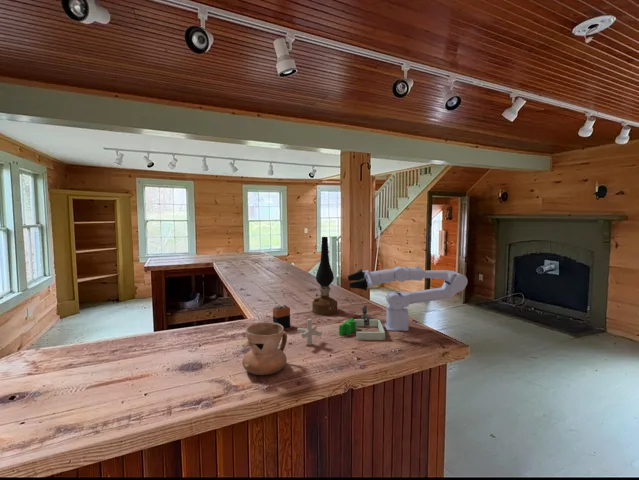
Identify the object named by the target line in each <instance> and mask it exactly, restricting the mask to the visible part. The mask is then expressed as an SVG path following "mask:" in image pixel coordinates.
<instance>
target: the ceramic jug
mask: <svg viewBox="0 0 639 480" xmlns="http://www.w3.org/2000/svg"><path fill="white" fill-rule="evenodd" d="M284 329H285V328H283V326H282V325H281V324H278V323H274V322H273V321H270V322H269V321H263V322H262V321H261V322H257V323H255V322H254V323H252V324H250V325H249V326H247V327H246V328H245V334H246V338H247V341H244V342H242V343H241V347H242V348H244V349H246V348H248V347H250V348H251V349H250V350H249V351H247V352H246V353H245V355H243V358H242V367H243V368H244V370H245V371H246V372H247V373H250V374H252V375H255V376H268V375H272V374H276V373H278V372H280V371H281V370H282V369H284V368H285V366H286V364H287V360H288V359H287V356H286V354H285V352H284V350H285V347H286V345H287V342H288V334H287V332H286V331H285V330H284Z"/></svg>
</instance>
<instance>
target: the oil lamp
mask: <svg viewBox="0 0 639 480" xmlns="http://www.w3.org/2000/svg"><path fill="white" fill-rule="evenodd" d="M328 239H329V237H328V236H322V237H321V249H320V254H321V255H320V261H319V266H318V269H317V271H316V274H315V280H316V282H317V283H318V285H320V287H318V290H319V292H320V294H319V295H318V293H316V294H315V298H313V299H314V300H313V301H311V302H312V303H311V305H312V309H311V312H312V313H313V314H315V315H318V316H333V315H335V314H337V313H338V312H339V310H338V301H337V300H336V299H335V298H332V297H330V291H331V287H330V285H331V284H333V282H334V280H335V276H334V272H333V270H332V267H331V264H330V257H329V240H328ZM318 296H319V297H318ZM316 297H317V298H316Z"/></svg>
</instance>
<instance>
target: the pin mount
mask: <svg viewBox="0 0 639 480" xmlns="http://www.w3.org/2000/svg"><path fill="white" fill-rule="evenodd" d="M364 318H368V321H365V320H364V326H365V325H367V326H369V323H370V319H372V315H371V314H369V313H368V314H367V313H366V314H363V313H362V314H360V319H364Z"/></svg>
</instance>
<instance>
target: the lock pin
mask: <svg viewBox="0 0 639 480" xmlns="http://www.w3.org/2000/svg"><path fill="white" fill-rule="evenodd" d="M367 309H368V305H362V314H367V313H368V310H367ZM364 320H365V321H368V318H364Z"/></svg>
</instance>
